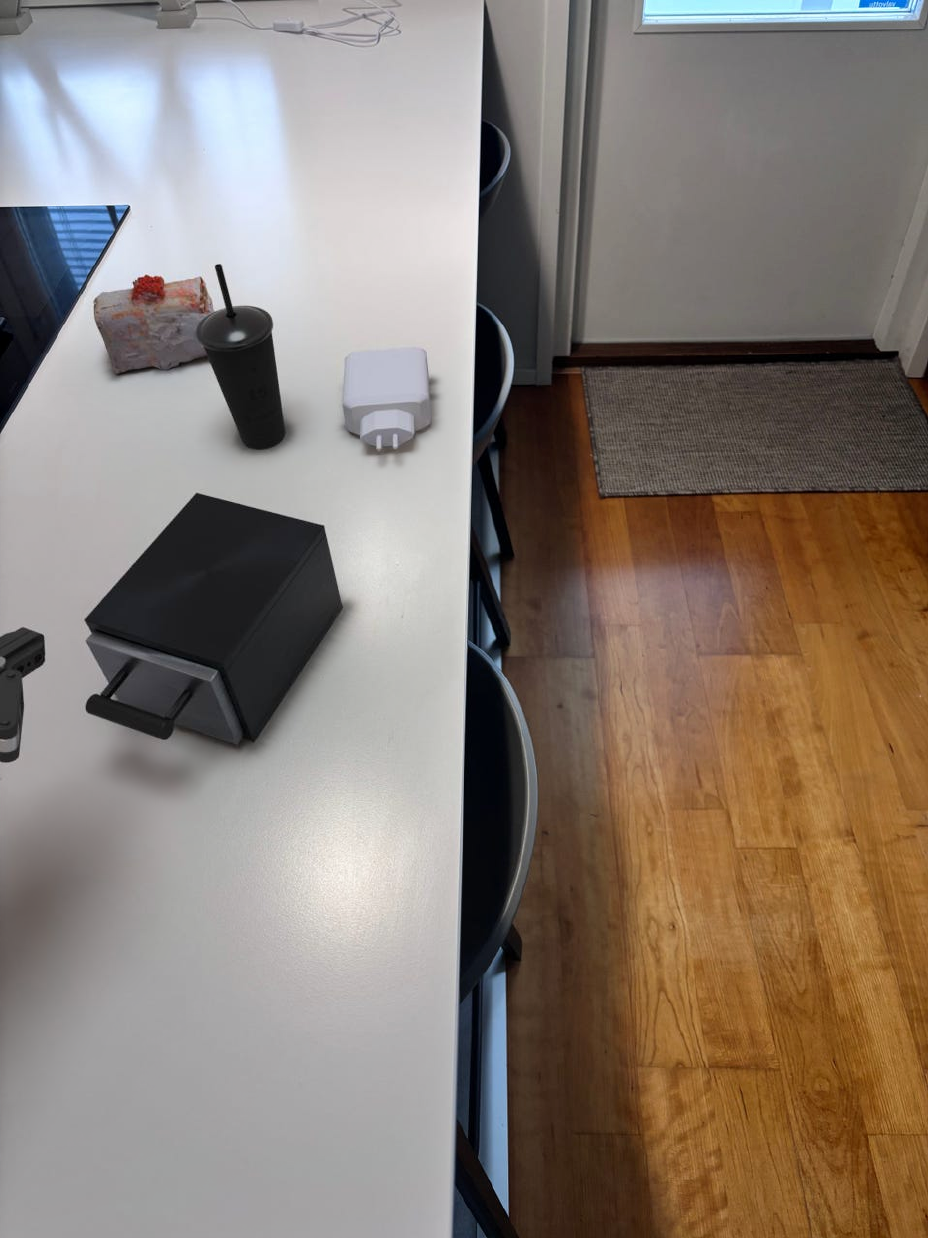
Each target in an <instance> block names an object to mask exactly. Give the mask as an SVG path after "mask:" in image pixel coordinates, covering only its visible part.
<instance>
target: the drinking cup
mask: <svg viewBox="0 0 928 1238" xmlns="http://www.w3.org/2000/svg"><path fill="white" fill-rule="evenodd" d="M214 270H215V273H216V277H217V280H218V284H219V288H220V291H221V296H222V299H223V303H224V308H221V309H218V310H214V311H215V312H213V313H211V314H209V315H208V316H206V317H205V318H204V319H203V320H202V321H201V322H200V323H199V324H198V326H197V329H196V336H197V339H198V341H199V342H200V343H201V345H203V347H204V349H205V352H206V354H207V359H208V361H209V364H210V366H211V368H212V371H213V373H214V376H215V378H216V381H217V383H218V385H219V388H220V391H221V393H222V395H223V398H224V400H225V402H226V405H227V407H228V410H229V412H230V415H231V417H232V419H233V422H234V424H235V427H236V429H237V432H238V434H239V437H240V439H241V441H242V443H243V444H244V446H246V447H247V448H250V449H253V450H266V449H270V448H273V447H275V446H277V445H278V444H280V443H281V442H282V441H283V440H284V438H285V436H286V427H285V419H284V412H283V405H282V397H281V390H280V389H281V388H280V382H279V374H278V369H277V368H278V367H277V361H276V352H275V345H274V339H273V338H274V337H273V329H274V320H273V317H272V316H271V314H270V313H269V312H268V311H267V310H265V309H263V308H261V307H257V306H253V305H233V303H232V298H231V295H230V292H229V287H228V284H227V279H226V276H225V272H224V269H223V265H222V264H221V263H217V264H215V265H214Z"/></svg>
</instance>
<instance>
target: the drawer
mask: <svg viewBox="0 0 928 1238" xmlns="http://www.w3.org/2000/svg"><path fill="white" fill-rule="evenodd" d="M123 639H124V638H123ZM123 639H120V638H117V637H114V636H111V635H108V634H105V633H101V632H98V631H95V630H94V631H93V632H92V633H91V632H90V634H89V636H88V637H87V638H86V639H85V643H86V645H87V647H88V649H89V650H90V652H91V654H92V656H93V657H94V659H95V662H96V663H97V665H98V667H99V668H100V671H101V672H102V674H103V676H104V677H105V679H106V682H107V685H106V686H105V688H103V690H102V691H101V692H100V694H98V693H93V694H92V695H90V696H89V697H88V698H87V700H86V703H85V712H86V713H87V714H89V715H91V716H94V717H97V718H100V719H102V720H105V721H108V722H111V723H114V724H117V725H119V726H123V727H125V728H128V729H131V730H133V731H134V730H135V731H137V732H140V733H142V734H145V735H147V736H151V737H154V738H155V739H159V740H163V741H166V740H169V739H170V738H171V736H172V735H173V733H174V730H175V724H176V725H178V726H181V727H184V728H187V729H190V730H192V731H196V732H199V733H201V734H204V735H207V736H210V737H213V738H215V739H218V740H222V741H225V742H228V743H230V744H233V745H239V743H240V741H241V740H242V739H243V738H242V737H243V736H244V731H243V729H242V726H241V724H240V721H239V719H238V716H237V714H236V711H235V709H234V706H233V704H232V702H231V699H230V697H229V694H228V692H227V689H226V687H225V684H224V682H223V679H222V677H221V674H220V672H219V670H217V669H216V668H215V667H212V666H208V665H205V664H202V663H199V662H196V661H193V660H190V659H187V658H183V657H180V656H177V655H174V654H171V653H168V652H165V651H162V650H159V649H155V648H152V647H149V646H146V645H143V644H140V643H137V642H134V641H130V640H127V639H124V640H123ZM113 695H114V696H115V698H116V699H117V700H116V699H113V698H112V697H113Z"/></svg>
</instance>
